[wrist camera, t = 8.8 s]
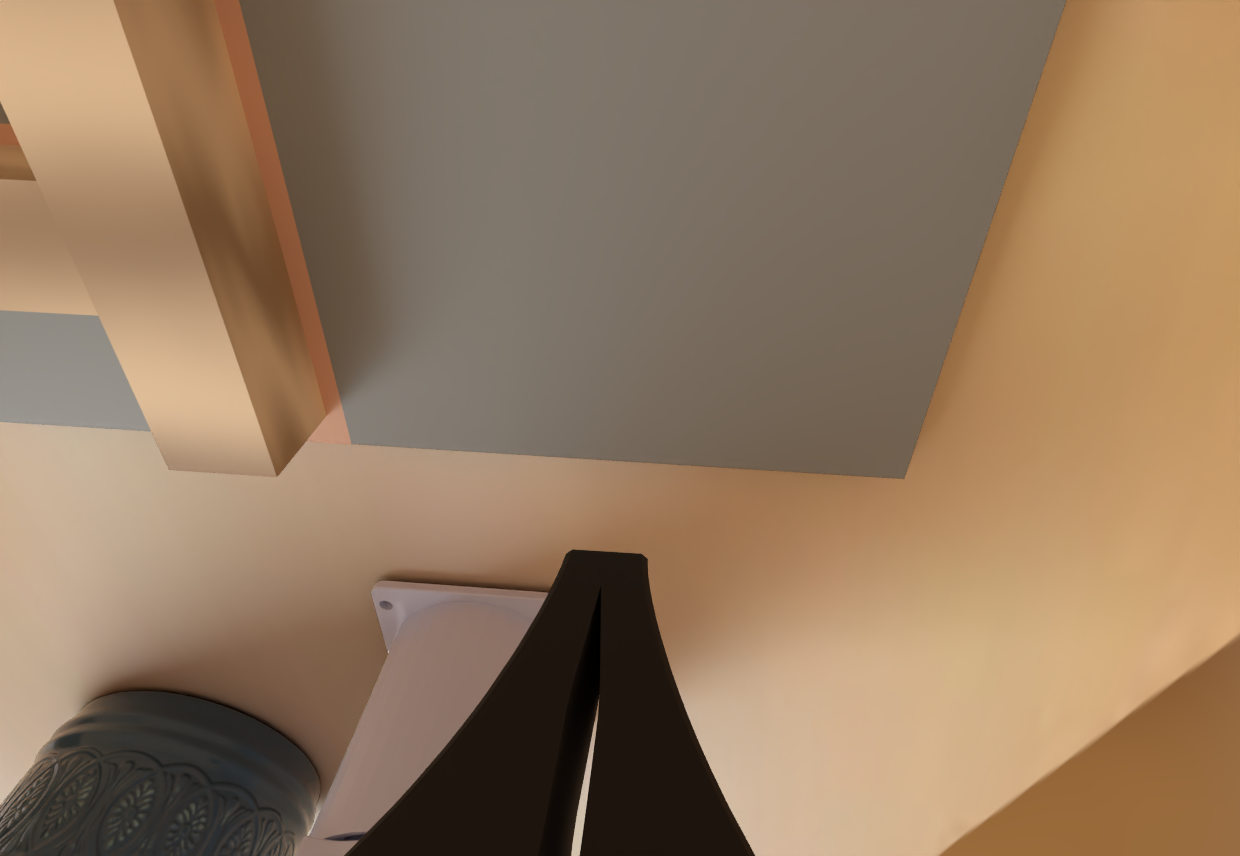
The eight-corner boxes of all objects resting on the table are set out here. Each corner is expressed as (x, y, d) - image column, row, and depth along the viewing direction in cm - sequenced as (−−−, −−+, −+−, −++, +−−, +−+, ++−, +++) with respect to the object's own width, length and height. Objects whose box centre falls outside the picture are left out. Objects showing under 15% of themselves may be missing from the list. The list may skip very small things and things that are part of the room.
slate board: (895, 458, 21) (904, 478, 20) (-72, 399, 22) (-101, 415, 21) (1081, -121, 13) (1109, -127, 12) (-438, -150, 14) (-507, -158, 13)
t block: (326, 416, 20) (277, 477, 18) (-16, 394, 21) (-112, 451, 18) (192, -81, 13) (80, -95, 11) (-313, -93, 14) (-529, -109, 11)
